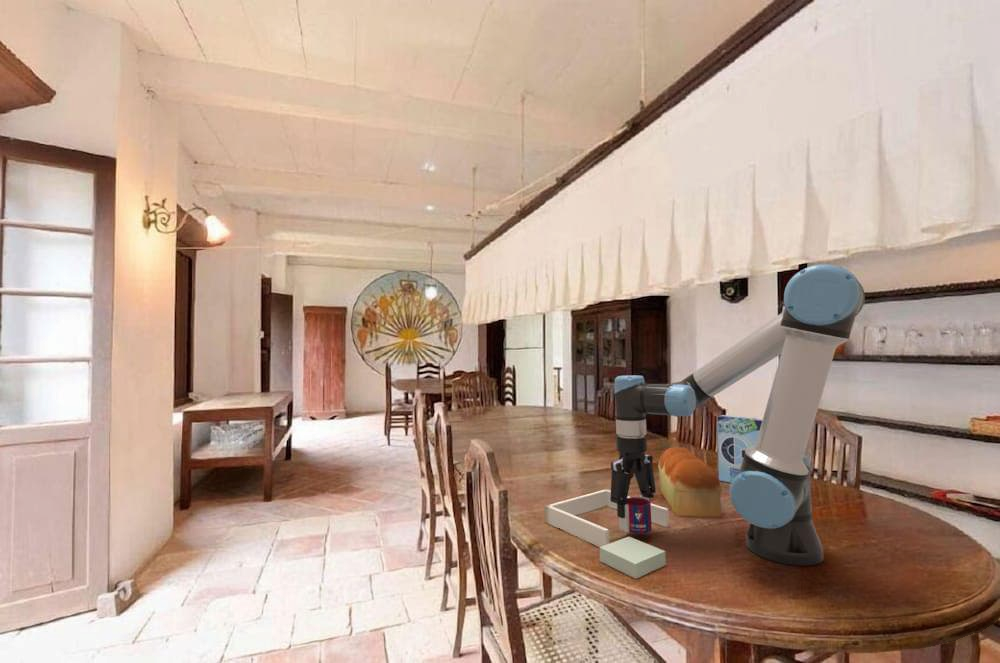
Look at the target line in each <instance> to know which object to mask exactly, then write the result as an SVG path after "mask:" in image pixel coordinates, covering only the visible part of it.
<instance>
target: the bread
mask: <svg viewBox="0 0 1000 663" xmlns="http://www.w3.org/2000/svg"><path fill="white" fill-rule="evenodd" d="M657 465H658V466H657V469H658V475H659V477H658V478H659V491H660V492H661V494H662V495H663V497H664V498H665V500H666V502H667V503H668V504H669V507H671V509H672V511H673V513H675V516H677V517H697V518H698V517H701V518H722V506H721V502H722V501H721V493H722V492H723V490H722V487H721V482H720V480H719V476H717V474H716V473H715V472H714V471H713V469H712V468H710V466H708V465H707V464H706V463H705V462H704V461H702V460H701V459H700V458H699V457H697V456H696V455H695V454H694V453H693V452H691V450H689V449H688V448H687V447H682V446H681V447H679V446H672V447H671V446H670V447H669V448H667V449H666V450H664V451H663V452H662V454H661V455H660V456H659V459H658V464H657Z"/></svg>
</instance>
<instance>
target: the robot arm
mask: <svg viewBox="0 0 1000 663" xmlns="http://www.w3.org/2000/svg"><path fill="white" fill-rule="evenodd" d="M783 292H784V293H783V302H784V305H783V306H782V310H781V313H779V314H778V315H776V316H774V318H772V319H770V320H769V321H767V322H766V323H765V324H764V325H762V326H760V327H759V328H757V329H756V330H754V331H752V332H751V333H750V334H749V335H747V336H746V337H744V338H743V339H741V340H740V341H738V342H737V343H735V344H734V345H733V346H731V347H729V348H727V349H726V350H725V351H724V352H722V353H720V354H719V355H718V356H716V357H714V358H713V359H712V360H710V361H709V362H708V363H706V364H704V365H703V366H701V367H700V368H698V369H697V370H695V371H694V372H693V373H692V374H689V375H688V376H686V377H685V378H684V379H682V380H681V381H677V382H671V383H645V377H644V376H643V375H636V374H634V375H628V374H627V375H618V376H616V377H615V378H614V391H613V395H614V408H615V410H614V411H615V434H616V435H617V436H616V438H615V439H616V440H615V441H616V450H617V452H618V453H619V457H618V460H616V461H611V462H610V468H611V478H610V479H611V481H610V491H611V497H610V501H611V502H614V503H616V504H617V509H616V511H617V512H616V513H617V517H618V529H619V530H621V531H623V532H626V533H630V532H629V531H630V528H629V505H628V504H626V501H627V496H629V491H630V485H631V480H632V478H634V475H635V480H636V482H637V485H638V489H639V491H640V495H639V496H638V498H643V499H647V500H649V501H650V502H651V499H653V498H655V497H654V496H655V494H656V491H657V489H656V482H655V475H654V469H653V466H654V465H653V461H654V457H653V456H652V455H649V454H645V453H647V451H648V441H647V440H648V439H647V438H648V437H646V435H647V419H646V415H659V416H660V415H662V416H672V417H673V416H674V417H676V418H677V417H690V416H692V415H693V414H694V411H695V410H697V409H698V408H700V407H701V406H703V405H704V404H705V403H706V402H707V401H708V400H711V399H712V398H713V397H715V396H716V395H718V394H720V392H722V391H724V390H725V389H728V388H729V387H730V386H732V385H734V384H735V383H737V382H739V381H740V380H742V379H744V378H745V377H747V376H749V375H750V374H751V373H753V372H755V371H756V370H758V369H759V368H761V367H762V366H764V365H766V364H768V363H769V362H771V361H772V360H774V359H775V358H777V357H779V356H780V357H779V360H778V364H777V368H776V371H775V374H774V378H773V382H772V385H771V389H770V393H769V396H768V400H767V403H766V406H765V409H764V413H763V417H762V419H763V420H762V424H761V427H760V431H759V434H758V438H757V441H756V445H755V446H752V447H750V448H748V449H746V451H745V454H744V457H743V461H742V464H741V468H740V471H739V474H738V475H737V476H736V477H735V478H734V480H733V481H732V483H731V484H730V486H729V488H730V489H729V496H730V501H731V503H732V506H733V507H734V509H735V510H736V512H737V513H738V515H740V516H741V518H742V519H744V520H745V521H747V522H748V523H749V526H748V528H747V531H746V535H745V536H746V546H747V549H748V550H749V551H751V552H752V553H754V554H755V555H757V556H759V557H761V558H763V559H766V560H769V561H773V562H776V563H779V564H785V565H790V566H805V567H806V566H814V565H818V564H820V563H823V561H824V558H825V557H824V548H823V544H822V542H821V539H820V537H819V535H818V533H817V529H816V527H815V524H814V522H813V509H812V506H813V505H812V488H811V470H812V468H811V467H812V466H811V465H810V458H809V457H808V456H807V455H806V454H805V453H806V451H807V450H806V449H807V446H808V443H809V439H810V436H811V433H812V430H813V426H814V423H815V420H816V415H817V412H818V409H819V405H820V403H821V401H822V400H821V399H822V395H823V393H824V390H825V386H826V383H827V379H828V376H829V372H830V370H831V365H832V362H833V359H834V356H835V352H836V350H837V349H836V348H838V346H840V345H843V344H844V343H846V342H848V341H849V339H850V336H851V333H852V330H853V326H854V323H855V320H856V317H857V316H858V315H859V314H860V313H861V311H862V310H863V307H864V305H865V300H866V294H865V293H866V292H865V289H864V287H863V285H862V284H861V283H860V281H859V279H858V278H857V276H855V274H853V273H852V272H851V271H850V270H848V269H846V268H844V267H841V266H838V265H837V266H836V265H833V264H825V263H824V264H815V265H811V266H808V267H805V268H803V269H802V270H801V269H800V271H798V272H796V273H795V274H793V276H792V277H791V278H790V279H789V281H788V282H787V284H786V286H785V289H784V291H783ZM621 498H622V499H621Z"/></svg>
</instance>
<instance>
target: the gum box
mask: <svg viewBox="0 0 1000 663" xmlns="http://www.w3.org/2000/svg"><path fill="white" fill-rule="evenodd" d="M716 419H717V421H716V422H717V454H718V455H717V457H718V464H717V465H718V479H719V482H720V481H722V482H726V483H731V484H732V481H733V480H734V478H735V477H736V476H737V475H738V474H739V471H740V468H741V464H742V461H743V457H744V454H745V451H746V449H748V448H750V447H752V446H755V445H756V441H757V438H758V434H759V431H760V427H761V424H762V420H763V418H757V417H756V418H755V417H746V416H737V415H726V414H722V415H717V417H716Z"/></svg>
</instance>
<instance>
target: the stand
mask: <svg viewBox="0 0 1000 663" xmlns="http://www.w3.org/2000/svg"><path fill="white" fill-rule="evenodd" d="M598 549H599V562H601V563H602V564H604V565H607V566H609V567H611V568H613V569H615V570H617V571H619V572H621V573H623V574H625V575H627V576H629V577H631V578H633V579H639V578H641V577H644V576H645V575H647V574H649V573H652V572H653V571H657V570H658V569H660V568H662V567H665V566H666V563H667V562H666V551H665V550H663V549H661V548H658V547H656V546H654V545H652V544H649V543H646V542H644V541H642V540H639V539H637V538H636V539H635V538H634V537H631V536H626V537H623V538H622V539H621V538H620V539H619V540H616V541H613V542H609V544H607V545H605V546H602V547H598Z"/></svg>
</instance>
